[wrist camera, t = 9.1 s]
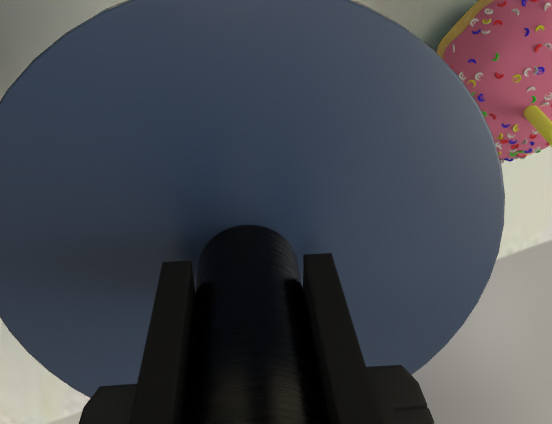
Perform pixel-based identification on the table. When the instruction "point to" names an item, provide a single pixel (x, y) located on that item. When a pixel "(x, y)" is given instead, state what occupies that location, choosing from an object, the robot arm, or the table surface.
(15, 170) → the pot lid
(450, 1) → the table surface
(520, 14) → the cupcake
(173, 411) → the robot arm
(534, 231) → the table surface
